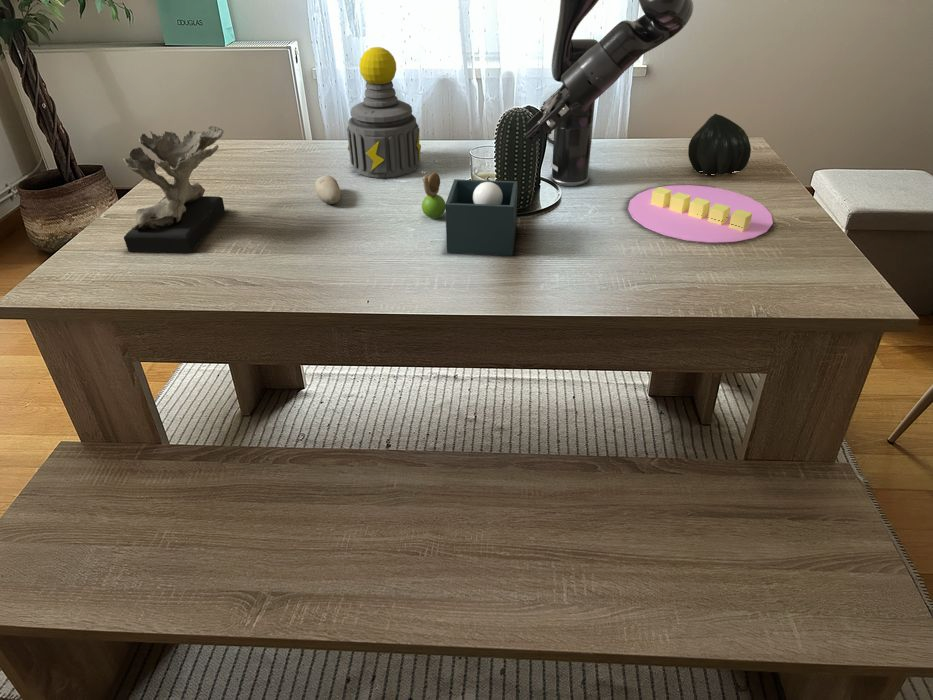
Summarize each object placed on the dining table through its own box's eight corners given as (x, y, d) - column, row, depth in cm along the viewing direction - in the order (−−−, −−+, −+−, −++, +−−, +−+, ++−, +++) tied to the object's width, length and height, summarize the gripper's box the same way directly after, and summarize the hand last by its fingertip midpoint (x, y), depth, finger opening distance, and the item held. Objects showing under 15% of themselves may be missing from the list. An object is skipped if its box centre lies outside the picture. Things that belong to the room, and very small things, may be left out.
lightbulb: (478, 236, 146) (483, 183, 142) (464, 231, 151) (468, 179, 148) (504, 237, 149) (510, 184, 145) (489, 231, 154) (494, 180, 151)
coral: (175, 204, 168) (151, 114, 156) (257, 206, 167) (240, 115, 154) (124, 251, 148) (92, 152, 136) (217, 255, 146) (193, 154, 134)
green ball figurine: (415, 221, 159) (412, 170, 152) (429, 210, 163) (427, 160, 157) (436, 225, 157) (434, 174, 150) (450, 215, 161) (448, 164, 154)
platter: (732, 257, 142) (736, 242, 140) (600, 214, 160) (602, 200, 158) (796, 209, 161) (800, 195, 159) (671, 175, 179) (673, 163, 177)
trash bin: (455, 225, 157) (454, 179, 150) (516, 227, 155) (517, 181, 149) (446, 253, 146) (445, 204, 139) (512, 256, 144) (513, 206, 138)
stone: (321, 200, 162) (303, 171, 169) (330, 219, 168) (312, 189, 174) (343, 189, 163) (324, 160, 169) (352, 207, 168) (333, 178, 175)
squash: (760, 164, 170) (755, 106, 172) (697, 167, 170) (693, 109, 172) (740, 185, 184) (735, 130, 186) (682, 187, 185) (678, 133, 186)
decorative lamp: (361, 153, 196) (349, 38, 179) (427, 156, 194) (421, 39, 177) (342, 178, 181) (327, 55, 164) (413, 181, 179) (406, 56, 162)
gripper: (579, 50, 133) (517, 110, 141) (578, 68, 121) (511, 132, 129) (605, 80, 135) (542, 137, 143) (606, 100, 124) (538, 161, 132)
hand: (527, 134), depth 136 cm, fingers open, 8 cm apart
